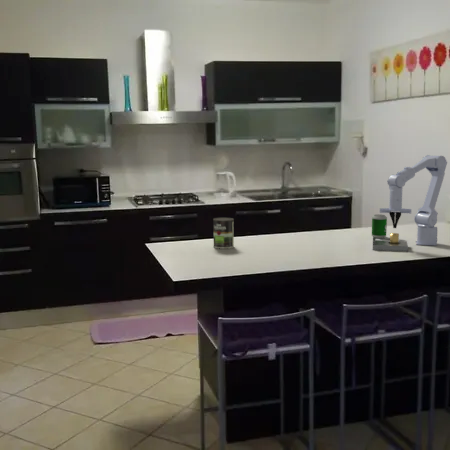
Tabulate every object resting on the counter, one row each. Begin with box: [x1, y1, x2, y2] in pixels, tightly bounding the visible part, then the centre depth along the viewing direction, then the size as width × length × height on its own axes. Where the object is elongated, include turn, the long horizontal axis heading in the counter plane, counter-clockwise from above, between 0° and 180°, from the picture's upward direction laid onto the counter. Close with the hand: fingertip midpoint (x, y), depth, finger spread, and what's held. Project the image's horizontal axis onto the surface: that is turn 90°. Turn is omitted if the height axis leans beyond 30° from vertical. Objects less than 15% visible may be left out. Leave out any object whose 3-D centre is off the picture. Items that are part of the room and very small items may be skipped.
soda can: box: [371, 214, 388, 240], centre depth 298 cm, size 8×8×12 cm
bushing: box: [389, 232, 400, 244], centre depth 272 cm, size 4×4×7 cm
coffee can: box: [212, 217, 235, 250], centre depth 280 cm, size 10×10×14 cm
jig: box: [372, 236, 409, 252], centre depth 272 cm, size 16×12×4 cm
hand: (394, 227), depth 271 cm, fingers closed
